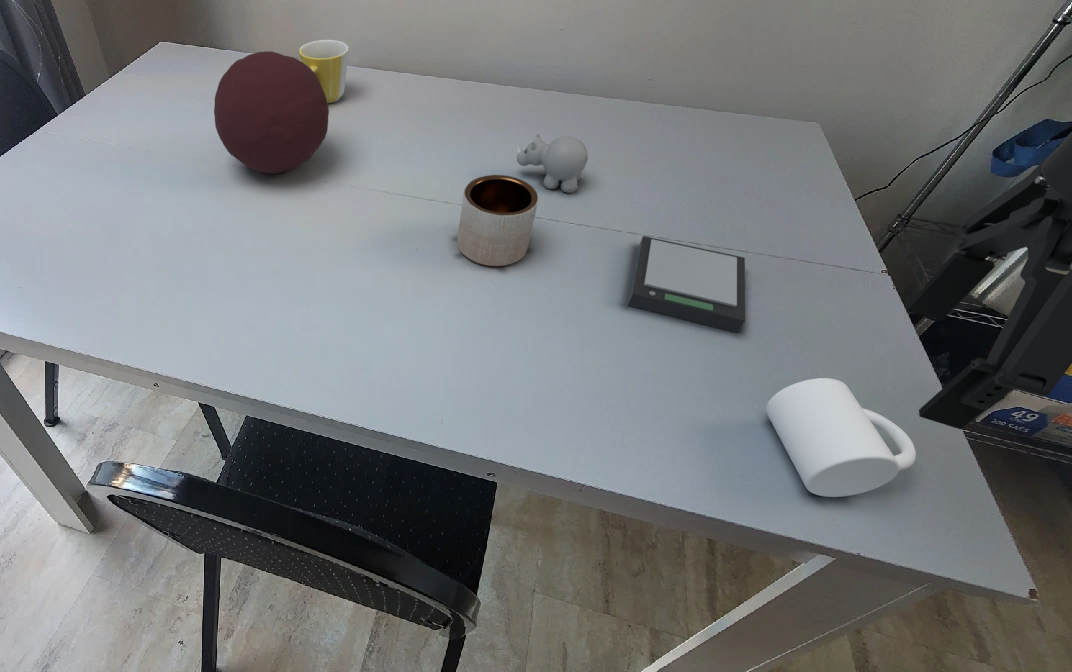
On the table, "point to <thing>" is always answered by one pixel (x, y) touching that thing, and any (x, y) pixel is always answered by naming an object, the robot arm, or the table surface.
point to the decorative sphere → (271, 112)
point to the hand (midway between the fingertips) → (930, 362)
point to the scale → (689, 284)
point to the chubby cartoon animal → (556, 160)
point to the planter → (496, 219)
